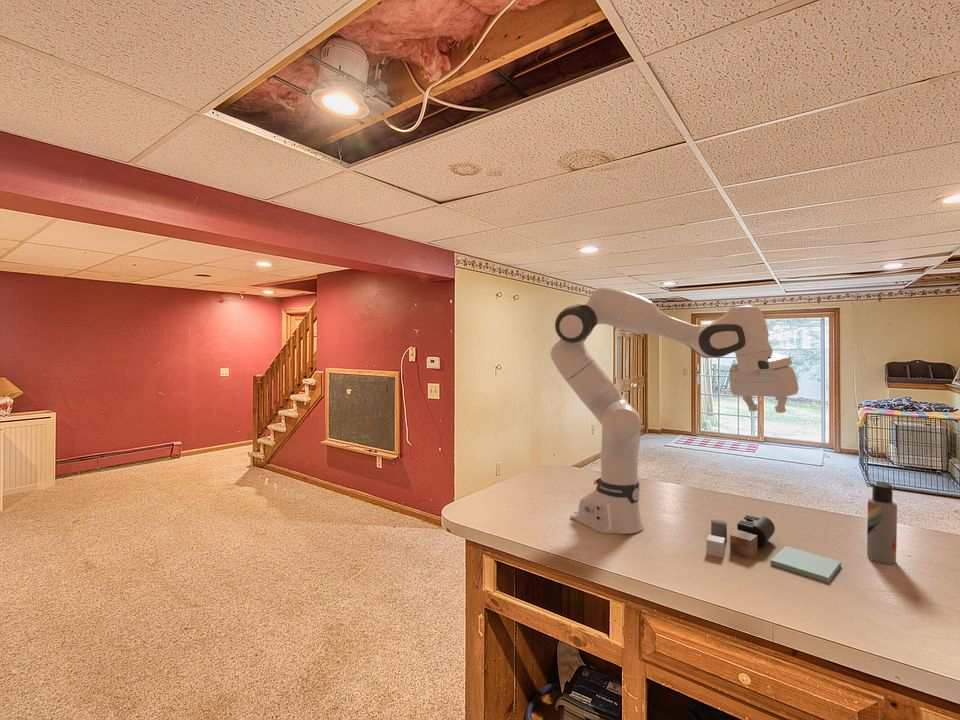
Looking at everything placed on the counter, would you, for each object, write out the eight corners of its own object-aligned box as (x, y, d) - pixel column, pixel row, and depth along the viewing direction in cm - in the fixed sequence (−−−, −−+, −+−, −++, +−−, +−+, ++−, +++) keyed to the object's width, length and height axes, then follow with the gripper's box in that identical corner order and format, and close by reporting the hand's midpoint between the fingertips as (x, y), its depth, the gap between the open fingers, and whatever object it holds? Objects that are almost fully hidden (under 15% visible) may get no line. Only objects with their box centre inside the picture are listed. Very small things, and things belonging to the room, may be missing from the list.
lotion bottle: (896, 558, 118) (897, 482, 118) (896, 567, 114) (897, 488, 114) (867, 552, 122) (868, 478, 122) (866, 560, 118) (867, 483, 117)
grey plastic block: (706, 554, 123) (706, 539, 123) (708, 548, 126) (708, 534, 126) (723, 558, 120) (723, 543, 120) (725, 552, 124) (725, 537, 124)
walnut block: (730, 553, 123) (730, 534, 123) (737, 547, 127) (737, 529, 126) (750, 559, 120) (750, 540, 119) (757, 553, 123) (757, 535, 123)
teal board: (770, 564, 116) (770, 560, 116) (785, 550, 124) (785, 546, 124) (828, 582, 107) (828, 577, 107) (840, 566, 115) (841, 561, 115)
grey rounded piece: (708, 539, 132) (708, 522, 132) (714, 535, 135) (714, 518, 134) (723, 543, 129) (723, 526, 129) (729, 539, 131) (729, 522, 131)
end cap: (765, 553, 123) (766, 528, 123) (736, 545, 128) (736, 521, 128) (775, 541, 130) (775, 518, 130) (747, 534, 135) (747, 512, 135)
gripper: (719, 366, 136) (729, 412, 135) (776, 362, 116) (788, 415, 115) (737, 362, 137) (747, 407, 137) (796, 357, 117) (808, 410, 117)
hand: (766, 411), depth 126 cm, fingers open, 8 cm apart
